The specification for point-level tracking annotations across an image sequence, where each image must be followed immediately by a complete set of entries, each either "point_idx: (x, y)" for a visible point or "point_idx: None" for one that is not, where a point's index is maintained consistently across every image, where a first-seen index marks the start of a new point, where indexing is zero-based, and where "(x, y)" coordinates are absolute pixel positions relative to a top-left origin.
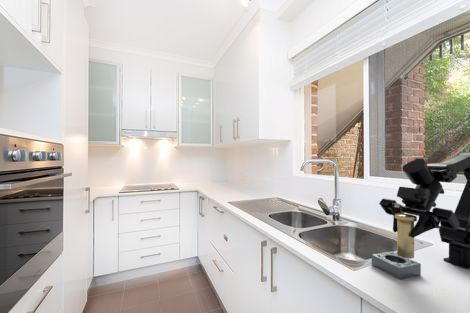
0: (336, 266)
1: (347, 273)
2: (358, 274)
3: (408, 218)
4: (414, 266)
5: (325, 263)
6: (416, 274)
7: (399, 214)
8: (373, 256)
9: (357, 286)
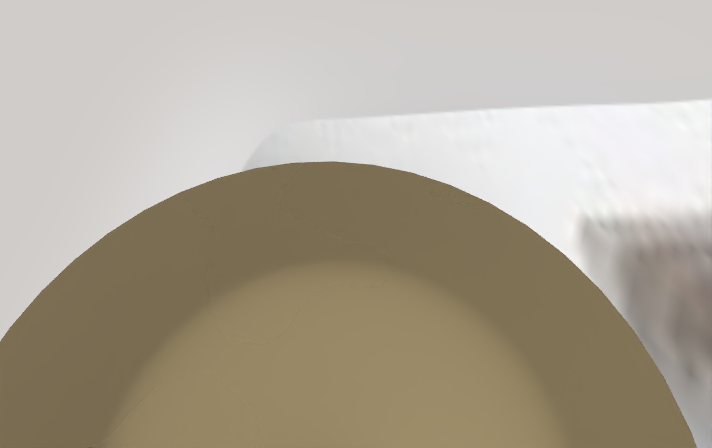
0: (654, 164)
1: (559, 162)
2: (531, 211)
3: (110, 256)
4: None
5: (706, 130)
6: None
7: (507, 446)
8: None
9: (438, 114)
